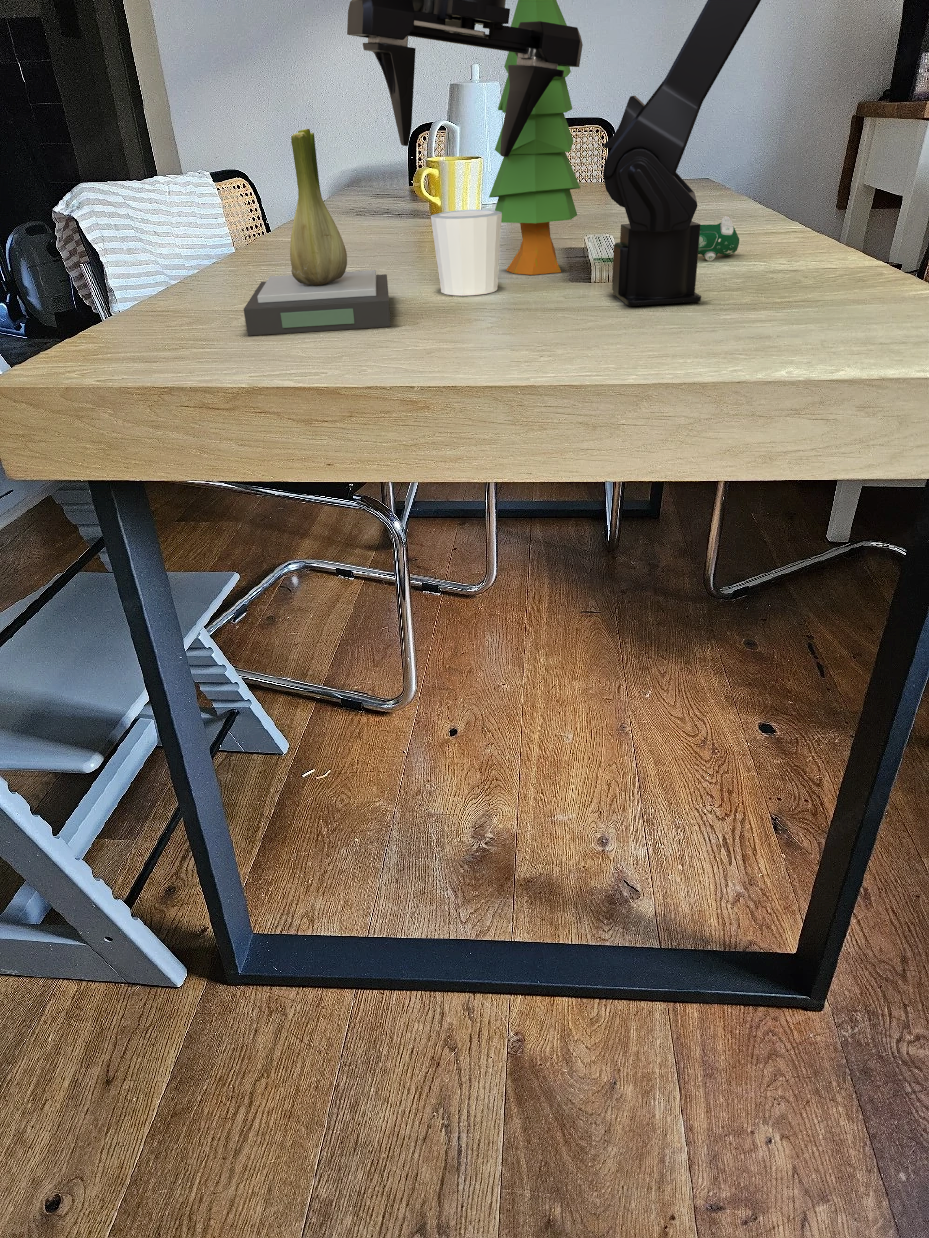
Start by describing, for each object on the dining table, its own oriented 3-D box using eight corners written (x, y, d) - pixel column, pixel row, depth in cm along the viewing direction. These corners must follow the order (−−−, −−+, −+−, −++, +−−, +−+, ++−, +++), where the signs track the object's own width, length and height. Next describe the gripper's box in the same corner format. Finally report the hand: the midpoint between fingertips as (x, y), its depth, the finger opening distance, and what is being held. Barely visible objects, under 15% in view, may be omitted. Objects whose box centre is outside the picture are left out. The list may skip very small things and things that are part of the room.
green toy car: (651, 276, 100) (654, 241, 94) (652, 246, 101) (656, 210, 95) (736, 274, 98) (744, 239, 93) (736, 245, 99) (745, 208, 94)
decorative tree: (512, 280, 92) (506, -87, 76) (476, 268, 99) (464, -68, 84) (594, 270, 95) (604, -85, 79) (553, 259, 102) (555, -67, 87)
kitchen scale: (388, 298, 86) (386, 267, 85) (390, 327, 75) (387, 292, 73) (264, 305, 85) (260, 275, 84) (247, 336, 74) (241, 301, 73)
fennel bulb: (317, 276, 82) (299, 128, 76) (363, 278, 80) (348, 126, 74) (280, 288, 77) (257, 131, 71) (327, 290, 75) (308, 129, 69)
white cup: (497, 296, 84) (495, 216, 81) (427, 297, 86) (422, 218, 82) (509, 283, 90) (507, 208, 86) (443, 284, 91) (439, 209, 88)
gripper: (543, -45, 78) (518, 153, 86) (336, -86, 72) (329, 132, 80) (601, -56, 70) (566, 165, 77) (370, -104, 63) (358, 143, 71)
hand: (455, 151), depth 77 cm, fingers open, 9 cm apart
